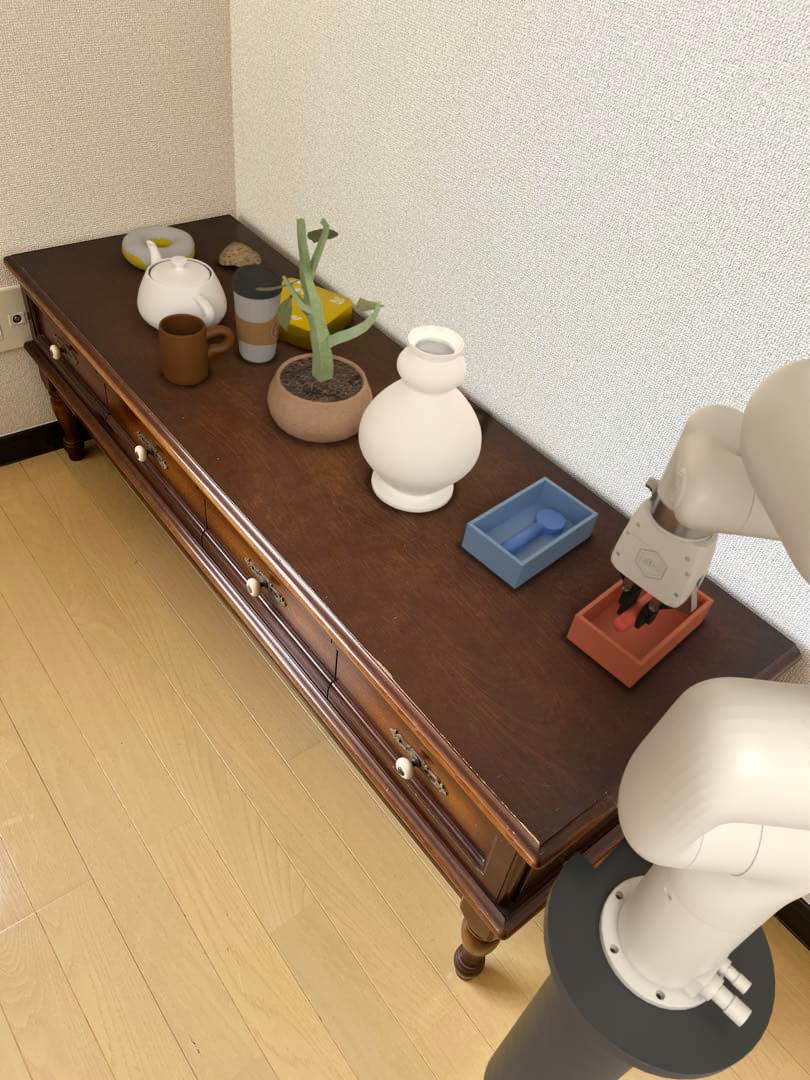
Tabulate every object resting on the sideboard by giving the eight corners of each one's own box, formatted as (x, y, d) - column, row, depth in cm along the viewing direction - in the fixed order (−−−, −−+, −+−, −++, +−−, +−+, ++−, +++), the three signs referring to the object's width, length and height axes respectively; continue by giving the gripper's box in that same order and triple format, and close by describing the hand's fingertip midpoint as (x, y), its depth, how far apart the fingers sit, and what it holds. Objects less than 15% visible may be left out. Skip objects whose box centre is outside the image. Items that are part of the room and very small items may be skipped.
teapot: (253, 342, 148) (252, 279, 139) (171, 363, 140) (166, 298, 131) (190, 281, 161) (186, 219, 152) (113, 296, 153) (104, 233, 145)
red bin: (640, 578, 116) (650, 556, 113) (701, 622, 111) (714, 600, 108) (565, 637, 107) (575, 614, 103) (629, 688, 102) (641, 666, 99)
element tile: (244, 326, 151) (244, 303, 148) (289, 295, 161) (289, 272, 158) (314, 354, 147) (315, 330, 144) (355, 320, 158) (357, 297, 154)
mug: (234, 361, 143) (232, 312, 136) (237, 386, 138) (235, 337, 131) (162, 362, 140) (157, 312, 133) (162, 387, 135) (157, 337, 128)
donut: (183, 241, 172) (181, 218, 169) (206, 272, 164) (204, 248, 161) (115, 249, 166) (112, 225, 163) (135, 281, 158) (133, 256, 155)
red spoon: (628, 644, 101) (633, 634, 100) (600, 622, 103) (604, 612, 102) (689, 591, 109) (695, 581, 107) (662, 572, 111) (667, 562, 109)
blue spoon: (507, 569, 113) (510, 559, 112) (484, 551, 115) (486, 541, 114) (569, 527, 121) (573, 517, 120) (546, 510, 123) (550, 501, 122)
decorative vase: (390, 538, 116) (413, 390, 98) (333, 464, 126) (344, 318, 109) (492, 505, 124) (529, 362, 106) (430, 437, 134) (455, 297, 116)
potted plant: (396, 427, 135) (420, 253, 114) (304, 461, 126) (311, 279, 105) (320, 360, 146) (329, 191, 125) (230, 387, 137) (224, 209, 116)
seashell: (247, 268, 162) (217, 241, 162) (238, 289, 167) (209, 262, 167) (272, 255, 168) (243, 228, 168) (263, 275, 172) (235, 249, 172)
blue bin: (537, 499, 126) (544, 476, 123) (589, 536, 121) (598, 513, 118) (461, 546, 116) (466, 523, 113) (514, 589, 112) (522, 566, 109)
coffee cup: (273, 370, 142) (274, 291, 132) (227, 361, 142) (224, 280, 132) (287, 346, 148) (288, 268, 138) (242, 337, 148) (240, 258, 138)
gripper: (608, 484, 93) (566, 592, 106) (730, 566, 85) (669, 671, 98) (645, 460, 97) (601, 566, 110) (764, 536, 90) (702, 641, 102)
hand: (633, 615), depth 104 cm, fingers closed on red spoon, 2 cm apart
